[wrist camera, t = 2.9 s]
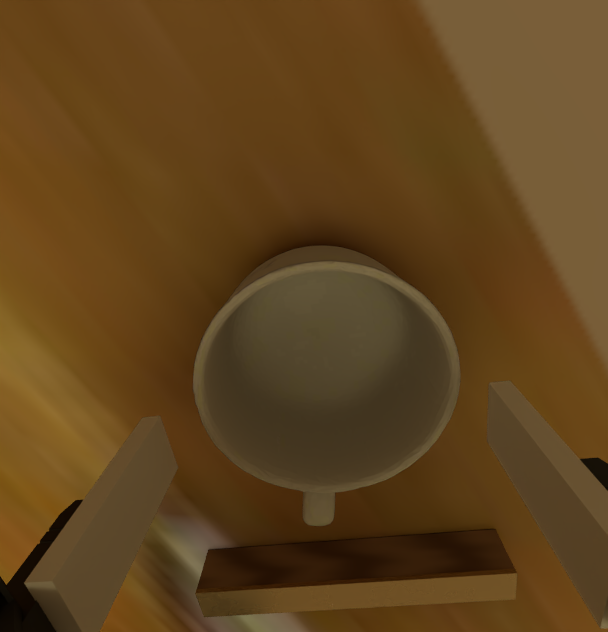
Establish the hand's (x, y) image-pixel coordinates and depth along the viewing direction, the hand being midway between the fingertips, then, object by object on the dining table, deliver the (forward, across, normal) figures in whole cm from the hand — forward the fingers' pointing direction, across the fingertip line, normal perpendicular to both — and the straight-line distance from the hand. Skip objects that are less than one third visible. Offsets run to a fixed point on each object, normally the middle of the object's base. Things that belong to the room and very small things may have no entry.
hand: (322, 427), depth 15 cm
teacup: (+8, 0, 0) cm, 9 cm away
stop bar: (+8, 0, +18) cm, 20 cm away
